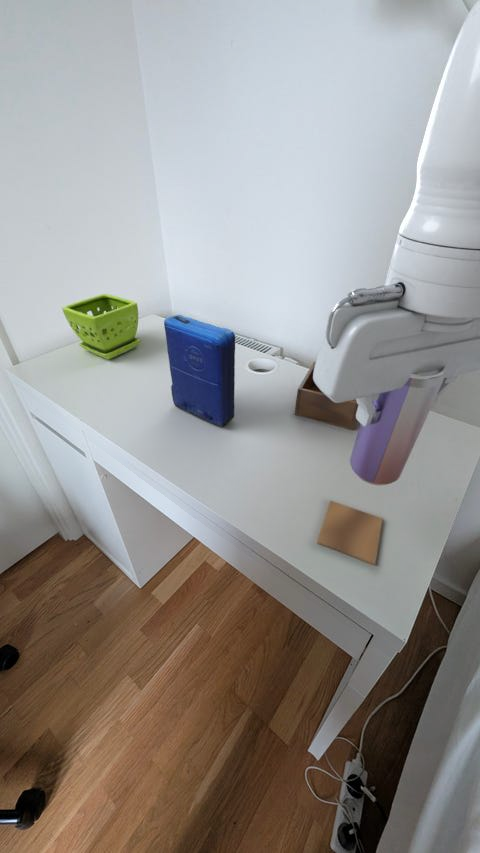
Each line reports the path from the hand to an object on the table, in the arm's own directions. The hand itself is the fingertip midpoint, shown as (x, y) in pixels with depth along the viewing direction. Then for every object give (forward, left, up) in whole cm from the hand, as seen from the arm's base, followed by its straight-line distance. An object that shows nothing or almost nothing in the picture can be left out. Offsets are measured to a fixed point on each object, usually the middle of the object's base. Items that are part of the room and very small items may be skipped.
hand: (394, 414), depth 36 cm
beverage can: (0, 0, -9) cm, 9 cm away
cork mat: (0, 0, -22) cm, 22 cm away
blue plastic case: (+34, -16, -22) cm, 44 cm away
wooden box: (+10, -30, -22) cm, 39 cm away
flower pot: (+72, -31, -22) cm, 82 cm away
